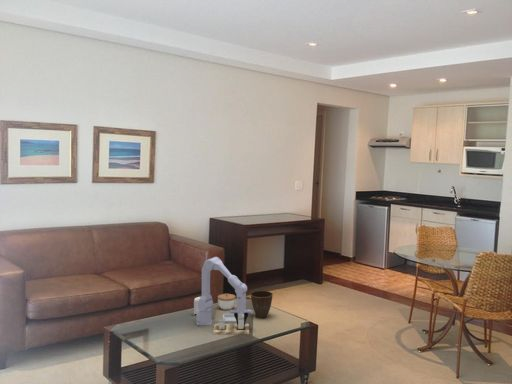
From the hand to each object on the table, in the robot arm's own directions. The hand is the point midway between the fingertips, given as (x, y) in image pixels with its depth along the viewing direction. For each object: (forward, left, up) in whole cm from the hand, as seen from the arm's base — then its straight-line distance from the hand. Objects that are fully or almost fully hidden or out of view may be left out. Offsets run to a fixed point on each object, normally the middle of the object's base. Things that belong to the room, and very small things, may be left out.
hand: (241, 324), depth 302 cm
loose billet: (0, 0, -2) cm, 2 cm away
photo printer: (-27, +29, -4) cm, 40 cm away
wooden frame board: (-6, 0, -3) cm, 7 cm away
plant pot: (+14, +24, -4) cm, 28 cm away
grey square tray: (-5, +16, -3) cm, 17 cm away
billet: (-12, 0, -3) cm, 12 cm away
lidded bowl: (-10, +41, -4) cm, 42 cm away
